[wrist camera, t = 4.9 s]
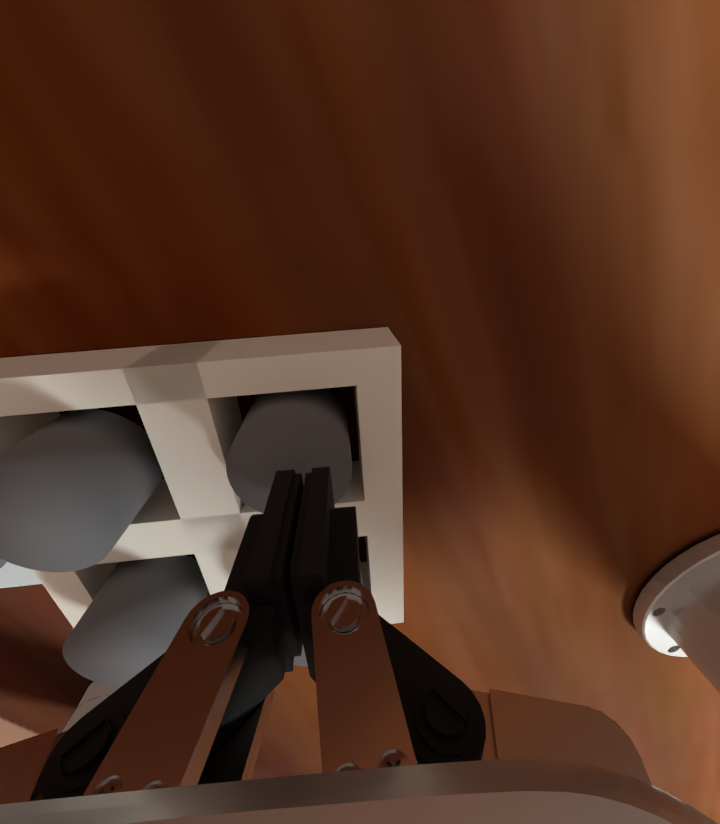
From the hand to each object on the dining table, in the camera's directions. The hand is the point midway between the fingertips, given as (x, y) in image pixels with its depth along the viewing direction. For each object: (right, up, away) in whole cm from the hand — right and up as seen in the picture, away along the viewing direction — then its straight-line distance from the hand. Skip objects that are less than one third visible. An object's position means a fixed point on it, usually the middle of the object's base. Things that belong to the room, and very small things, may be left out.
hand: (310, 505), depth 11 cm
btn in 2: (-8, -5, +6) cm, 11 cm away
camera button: (-1, +2, +4) cm, 5 cm away
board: (-5, -1, +6) cm, 8 cm away
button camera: (-9, +1, +3) cm, 9 cm away
